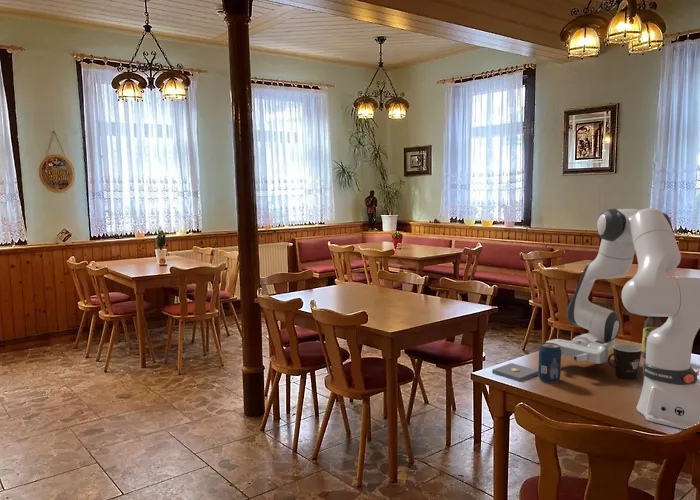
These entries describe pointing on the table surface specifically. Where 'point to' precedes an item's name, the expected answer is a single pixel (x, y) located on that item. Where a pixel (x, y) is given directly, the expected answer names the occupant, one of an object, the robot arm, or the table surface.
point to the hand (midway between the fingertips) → (562, 355)
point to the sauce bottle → (649, 330)
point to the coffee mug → (626, 361)
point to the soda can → (549, 362)
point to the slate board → (515, 372)
